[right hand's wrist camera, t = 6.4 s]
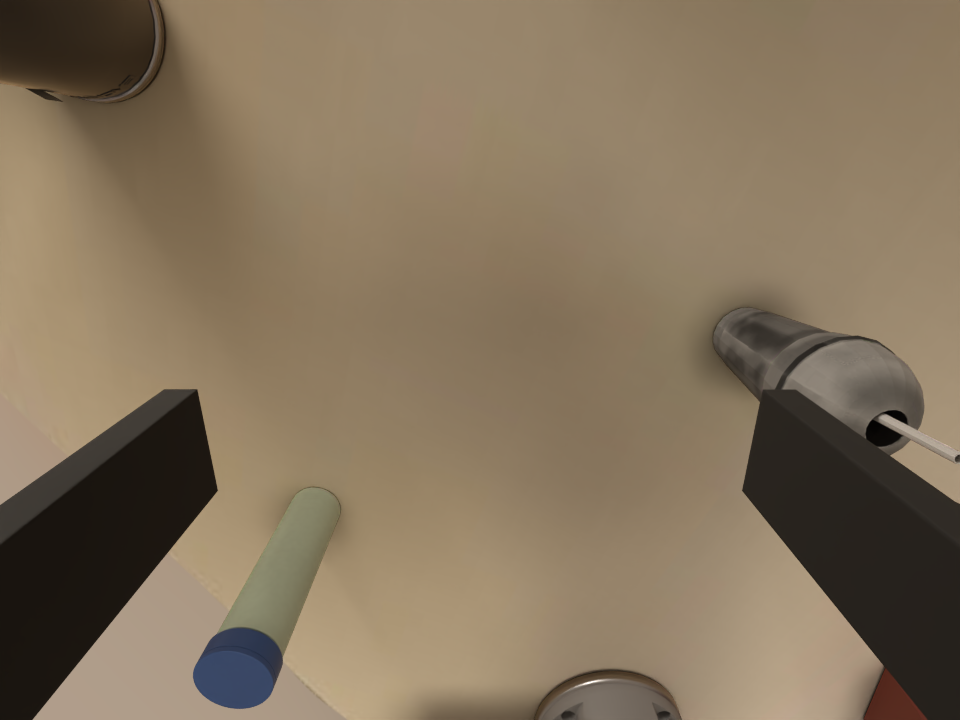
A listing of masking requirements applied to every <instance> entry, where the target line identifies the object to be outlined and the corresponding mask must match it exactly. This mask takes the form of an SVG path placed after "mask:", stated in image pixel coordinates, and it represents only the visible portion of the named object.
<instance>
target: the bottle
mask: <svg viewBox="0 0 960 720" xmlns="http://www.w3.org/2000/svg"><path fill="white" fill-rule="evenodd" d="M340 511H341V510H340V504H339V502H338V500H337V499H336V497H335V496H334V495H333V494H332V493H330V492H329V491H327V490H325V489H322V488H316V487H311V488H306V489H303V490H301V491H300V492H298V493H297V494H296V495H295V496H294V498H293V500H292V502H291V503H290V505H289V507H288V509H287V510H286V512H285V514H284V516H283V518H282V519H281V521H280V523H279V525H278V526H277V528H276V530H275V532H274V533H273V535H272V537H271V539H270V541H269V542H268V544H267V546H266V548H265V549H264V551H263V553H262V555H261V557H260V558H259V560H258V562H257V564H256V565H255V567H254V569H253V571H252V573H251V574H250V576H249V578H248V580H247V581H246V583H245V585H244V587H243V589H242V590H241V592H240V594H239V596H238V597H237V599H236V601H235V603H234V605H233V606H232V608H231V610H230V612H229V613H228V615H227V617H226V619H225V620H224V622H223V624H222V626H221V628H220V629H219V631H218V633H220V632H222V631H224V630H227V629H232V628H246V629H251V630H255V631H258V632H260V633H262V634H264V635H266V636H268V637H269V638H270V639H272V640H273V641H274V642H275V643H276V644H277V646H278V647H279V649H280V651H281V653H282V658H283V655H284V653H285V650H286V648H287V645H288V643H289V640H290V638H291V635H292V633H293V630H294V628H295V625H296V623H297V620H298V618H299V615H300V613H301V610H302V608H303V605H304V603H305V600H306V598H307V595H308V593H309V590H310V588H311V586H312V583H313V581H314V578H315V576H316V573H317V571H318V568H319V566H320V563H321V561H322V558H323V556H324V553H325V551H326V548H327V546H328V543H329V541H330V538H331V536H332V533H333V531H334V528H335V526H336V523H337V521H338V518H339V516H340ZM218 633H217V634H218Z"/></svg>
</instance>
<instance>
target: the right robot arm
mask: <svg viewBox="0 0 960 720" xmlns="http://www.w3.org/2000/svg"><path fill="white" fill-rule="evenodd" d="M217 491H218V489H217V484H216V480H215V475H214V470H213V465H212V460H211V455H210V450H209V445H208V440H207V435H206V430H205V425H204V420H203V415H202V410H201V406H200V401H199V396H198V391H197V389H164V390H163V391H161V392H160V393H159V394H157V395H156V396H154V397H153V398H151V399H150V400H149V401H147V402H146V403H144V404H143V405H142V406H140V407H139V408H137V409H136V410H134V411H133V412H132V413H130V414H129V415H127V416H126V417H125V418H123V419H122V420H120V421H119V422H117V423H116V424H115V425H113V426H112V427H110V428H109V429H108V430H106V431H105V432H103V433H102V434H100V435H99V436H98V437H96V438H95V439H93V440H92V441H91V442H89V443H88V444H86V445H85V446H83V447H82V448H81V449H79V450H78V451H76V452H75V453H73V454H72V455H71V456H69V457H68V458H66V459H65V460H64V461H62V462H61V463H59V464H58V465H56V466H55V467H54V468H52V469H51V470H49V471H48V472H47V473H45V474H44V475H42V476H41V477H39V478H38V479H37V480H35V481H34V482H32V483H31V484H30V485H28V486H27V487H25V488H24V489H23V490H21V491H20V492H18V493H17V494H15V495H14V496H13V497H11V498H10V499H8V500H7V501H5V502H4V503H3V504H1V505H0V720H33V718H34V717H35V716H36V715H37V713H38V712H39V711H40V710H41V708H42V707H43V706H44V705H45V704H46V702H47V701H48V700H49V699H50V697H51V696H52V695H53V694H54V692H55V691H56V690H57V689H58V687H59V686H60V685H61V684H62V683H63V681H64V680H65V679H66V678H67V676H68V675H69V674H70V673H71V671H72V670H73V669H74V668H75V666H76V665H77V664H78V663H79V662H80V660H81V659H82V658H83V657H84V655H85V654H86V653H87V652H88V650H89V649H90V648H91V647H92V645H93V644H94V643H95V642H96V640H97V639H98V638H99V637H100V636H101V634H102V633H103V632H104V631H105V629H106V628H107V627H108V626H109V624H110V623H111V622H112V621H113V620H114V618H115V617H116V616H117V615H118V613H119V612H120V611H121V610H122V608H123V607H124V606H125V605H126V603H127V602H128V601H129V600H130V598H131V597H132V596H133V595H134V594H135V592H136V591H137V590H138V589H139V587H140V586H141V585H142V584H143V582H144V581H145V580H146V579H147V578H148V576H149V575H150V574H151V573H152V571H153V570H154V569H155V568H156V566H157V565H158V564H159V563H160V561H161V560H162V559H163V558H164V557H165V555H166V554H167V553H168V552H169V550H170V549H171V548H172V547H173V545H174V544H175V543H176V542H177V540H178V539H179V538H180V537H181V536H182V534H183V533H184V532H185V531H186V529H187V528H188V527H189V526H190V524H191V523H192V522H193V521H194V519H195V518H196V517H197V516H198V515H199V513H200V512H201V511H202V510H203V508H204V507H205V506H206V505H207V503H208V502H209V501H210V500H211V498H212V497H213V496H214V495H215V494H216V492H217ZM742 491H743V492H744V494H745V495H746V496H747V497H748V498H749V500H750V501H751V502H752V503H753V505H754V506H755V507H756V508H757V510H758V511H759V512H760V513H761V515H762V516H763V517H764V518H765V519H766V521H767V522H768V523H769V524H770V526H771V527H772V528H773V529H774V531H775V532H776V533H777V534H778V536H779V537H780V538H781V539H782V540H783V542H784V543H785V544H786V545H787V547H788V548H789V549H790V550H791V552H792V553H793V554H794V555H795V557H796V558H797V559H798V560H799V561H800V563H801V564H802V565H803V566H804V568H805V569H806V570H807V571H808V573H809V574H810V575H811V576H812V578H813V579H814V580H815V581H816V582H817V584H818V585H819V586H820V587H821V589H822V590H823V591H824V592H825V594H826V595H827V596H828V597H829V599H830V600H831V601H832V602H833V603H834V605H835V606H836V607H837V608H838V610H839V611H840V612H841V613H842V615H843V616H844V617H845V618H846V620H847V621H848V622H849V623H850V624H851V626H852V627H853V628H854V629H855V631H856V632H857V633H858V634H859V636H860V637H861V638H862V639H863V641H864V642H865V643H866V644H867V645H868V647H869V648H870V649H871V650H872V652H873V653H874V654H875V655H876V657H877V658H878V659H879V660H880V662H881V663H882V664H883V665H884V666H885V668H886V669H887V670H888V671H889V673H890V674H891V675H892V676H893V678H894V679H895V680H896V681H897V683H898V684H899V685H900V686H901V687H902V689H903V690H904V691H905V692H906V694H907V695H908V696H909V697H910V699H911V700H912V701H913V702H914V704H915V705H916V706H917V707H918V708H919V710H920V711H921V712H922V713H923V715H924V716H925V717H926V718H927V720H960V504H959V503H957V502H955V501H953V500H952V499H950V498H949V497H947V496H946V495H945V494H943V493H942V492H940V491H939V490H938V489H936V488H935V487H933V486H932V485H930V484H929V483H928V482H926V481H925V480H923V479H922V478H921V477H919V476H918V475H916V474H915V473H913V472H912V471H911V470H909V469H908V468H906V467H905V466H904V465H902V464H901V463H899V462H898V461H896V460H895V459H894V458H892V457H891V456H889V455H888V454H887V453H885V452H884V451H882V450H881V449H879V448H878V447H877V446H875V445H874V444H872V443H871V442H869V441H868V440H867V439H865V438H864V437H862V436H861V435H860V434H858V433H857V432H855V431H854V430H852V429H851V428H850V427H848V426H847V425H845V424H844V423H843V422H841V421H840V420H838V419H837V418H835V417H834V416H833V415H831V414H830V413H828V412H827V411H826V410H824V409H823V408H821V407H820V406H818V405H817V404H816V403H814V402H813V401H811V400H810V399H809V398H807V397H806V396H804V395H803V394H801V393H800V392H799V391H797V390H796V389H763V391H762V396H761V401H760V406H759V410H758V415H757V420H756V425H755V430H754V435H753V440H752V445H751V450H750V455H749V460H748V465H747V470H746V475H745V480H744V484H743V489H742ZM535 720H682V719H681V716H680V713H679V711H678V708H677V705H676V703H675V701H674V699H673V697H672V696H671V695H670V693H669V692H668V691H667V690H666V689H665V688H664V687H662V686H661V685H660V684H658V683H657V682H655V681H653V680H651V679H649V678H647V677H644V676H641V675H638V674H634V673H629V672H621V671H604V672H596V673H590V674H586V675H582V676H579V677H576V678H574V679H572V680H569V681H567V682H565V683H563V684H562V685H560V686H559V687H557V688H556V689H555V690H553V691H552V692H551V693H550V694H549V695H548V696H547V697H546V698H545V699H544V700H543V702H542V703H541V704H540V706H539V708H538V710H537V713H536V716H535Z"/></svg>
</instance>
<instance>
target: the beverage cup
mask: <svg viewBox="0 0 960 720" xmlns="http://www.w3.org/2000/svg"><path fill="white" fill-rule="evenodd" d="M713 344H714V347H715V350H716V352H717V353H718V354H719V356H720V357H721V358H722V360H723V361H724V362H725V364H726V365H727V366H728V367H729V368H730V369H731V371H732V372H733V373H734V374H735V375H736V376H737V377H738V378H739V379H740V380H741V382H742V383H743V384H744V385H745V386H746V387H747V388H748V389H749V390H750V391H751V393H752V394H753V395H754V396H755V397H756V398H757V399H758V400H759V401H761V396H762V391H763V389H796V390H797V391H799V392H800V393H801V394H803V395H804V396H806V397H807V398H809V399H810V400H811V401H813V402H814V403H816V404H817V405H818V406H820V407H821V408H823V409H824V410H826V411H827V412H828V413H830V414H831V415H833V416H834V417H835V418H837V419H838V420H840V421H841V422H843V423H844V424H845V425H847V426H848V427H850V428H851V429H852V430H854V431H855V432H857V433H858V434H860V435H861V436H862V437H864V438H865V439H867V440H868V441H869V442H871V443H872V444H874V445H875V446H877V447H878V448H879V449H881V450H882V451H884V452H885V453H887V454H888V455H889V456H890V455H892V454H893V453H895V452H897V451H898V450H900V449H902V448H903V447H904V446H905V445H906V444H907V443H908V442H909V441H910V440H912V441H914V442H916V443H918V444H920V445H922V446H924V447H925V448H927V449H929V450H931V451H933V452H935V453H937V454H939V455H940V456H942V457H944V458H946V459H948V460H950V461H952V462H953V463H955V464H960V452H959V451H957V450H955V449H953V448H951V447H949V446H947V445H945V444H943V443H941V442H939V441H937V440H935V439H933V438H932V437H930V436H928V435H926V434H924V433H922V432H920V431H918V428H919V427H920V425H921V422H922V418H923V414H924V400H923V391H922V389H921V386H920V384H919V382H918V380H917V379H916V377H915V375H914V374H913V372H912V370H911V369H910V368H909V366H908V365H907V364H906V363H905V362H904V361H903V360H901V359H900V358H899V357H897V356H896V355H895V354H894V353H893V352H892V351H891V350H889V349H888V348H887V347H885V346H884V345H882V344H881V343H880V342H878V341H877V340H873V339H869V338H865V337H861V336H850V335H846V334H840V333H834V332H828V331H825V330H822V329H819V328H816V327H813V326H810V325H807V324H804V323H801V322H798V321H795V320H791V319H788V318H785V317H782V316H779V315H776V314H773V313H770V312H766V311H762V310H758V309H754V308H740V309H737V310H734V311H732V312H730V313H729V314H727V315H726V316H725V317H723V319H722V320H721V321H720V322H719V323H718V325H717V327H716V329H715V332H714V337H713Z"/></svg>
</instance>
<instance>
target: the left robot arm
mask: <svg viewBox="0 0 960 720" xmlns="http://www.w3.org/2000/svg"><path fill="white" fill-rule="evenodd" d="M163 50H164V26H163V20H162V15H161V11H160V8H159V5H158V2H157V0H0V83H1V84H7V85H13V86H19V87H24V88H26V89H28V90H30V91H32V92H34V93H35V94H37V95H39V96H41V97H43V98H45V99H48V100H54V101H61V100H59V99H57V98H55V97H54V96H52V95H50V94H48V93H46V92H44V91H47V92H52V93H58V94H64V95H69V96H71V97H76V98H80V99H83V100H89V101H95V102H103V103H111V102H119V101H123V100H126V99H129V98H131V97H133V96H135V95H137V94H138V93H139V92H141V91H142V90H143V89H144V88H145V87H147V86H148V84H149V83H150V82H151V81H152V79H153V78H154V76H155V74H156V72H157V70H158V68H159V66H160V63H161V59H162V56H163ZM61 102H63V101H61Z"/></svg>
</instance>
